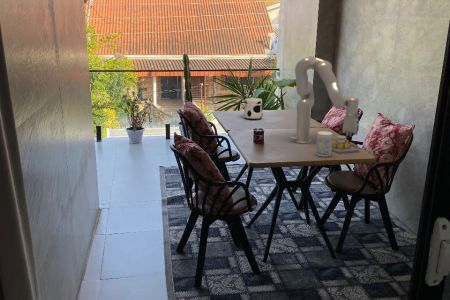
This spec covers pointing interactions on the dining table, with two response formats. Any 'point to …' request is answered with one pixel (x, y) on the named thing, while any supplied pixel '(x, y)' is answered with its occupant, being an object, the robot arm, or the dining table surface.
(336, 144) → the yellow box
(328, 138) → the supplement tub
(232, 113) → the dining table surface
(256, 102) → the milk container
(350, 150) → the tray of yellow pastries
